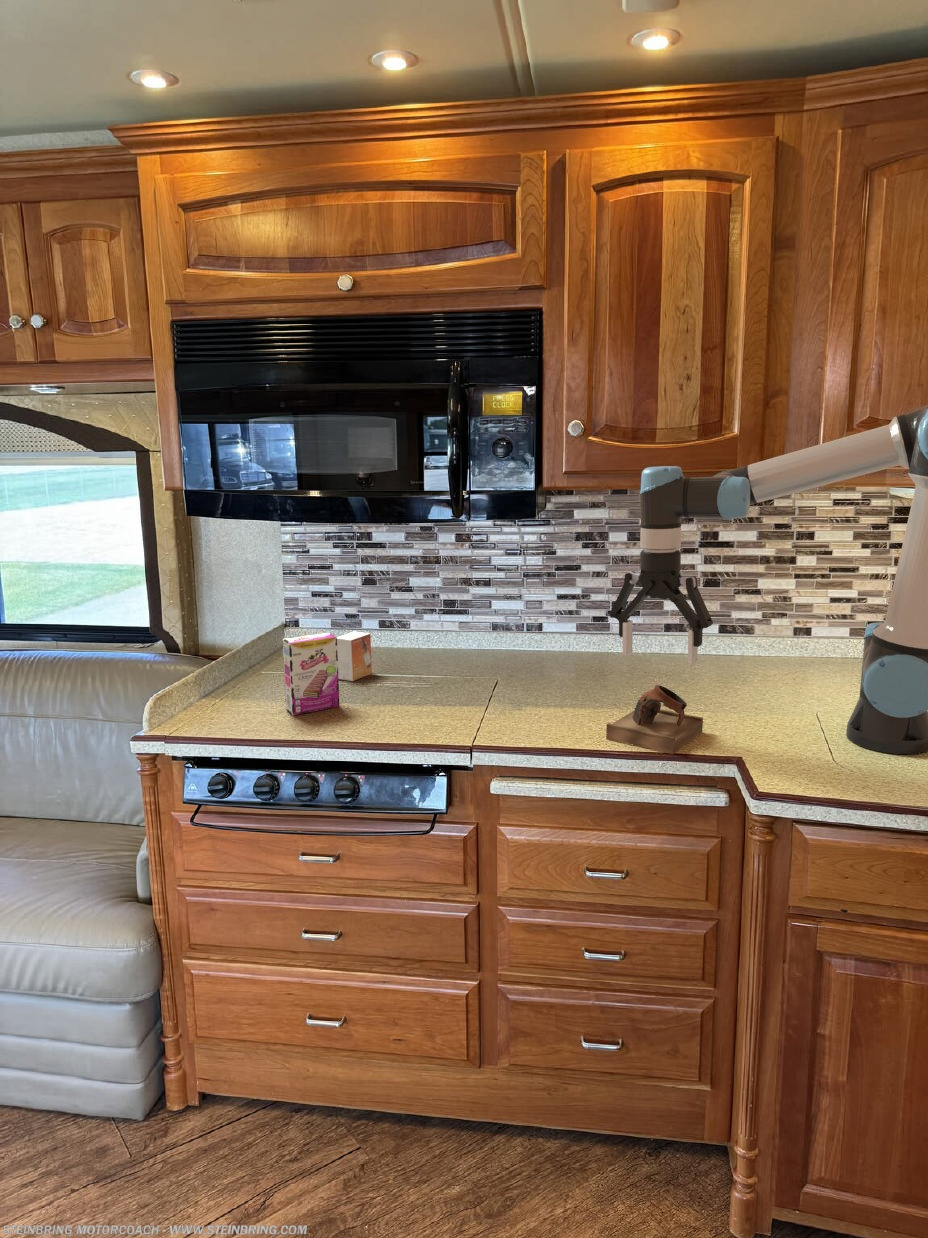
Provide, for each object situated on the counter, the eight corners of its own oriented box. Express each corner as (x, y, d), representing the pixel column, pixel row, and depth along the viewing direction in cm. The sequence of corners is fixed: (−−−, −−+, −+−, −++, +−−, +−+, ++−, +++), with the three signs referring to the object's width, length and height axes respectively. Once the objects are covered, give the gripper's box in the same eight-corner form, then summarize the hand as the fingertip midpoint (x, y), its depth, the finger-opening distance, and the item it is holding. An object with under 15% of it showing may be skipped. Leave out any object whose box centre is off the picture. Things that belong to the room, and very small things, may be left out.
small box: (352, 682, 212) (350, 640, 210) (335, 679, 215) (332, 637, 213) (372, 673, 219) (371, 633, 217) (355, 670, 222) (353, 630, 220)
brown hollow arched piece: (637, 713, 180) (659, 680, 178) (675, 741, 176) (697, 707, 174) (616, 715, 170) (639, 681, 168) (655, 745, 166) (679, 710, 164)
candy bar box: (293, 716, 189) (288, 643, 185) (285, 710, 193) (280, 638, 189) (341, 707, 194) (337, 635, 191) (332, 701, 198) (328, 631, 195)
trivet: (702, 732, 175) (703, 717, 174) (672, 754, 164) (673, 738, 163) (638, 719, 183) (638, 705, 182) (606, 739, 172) (606, 724, 171)
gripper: (732, 550, 160) (729, 661, 165) (610, 543, 175) (611, 645, 180) (716, 556, 155) (713, 671, 159) (592, 548, 169) (593, 654, 174)
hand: (659, 658), depth 170 cm, fingers open, 13 cm apart
